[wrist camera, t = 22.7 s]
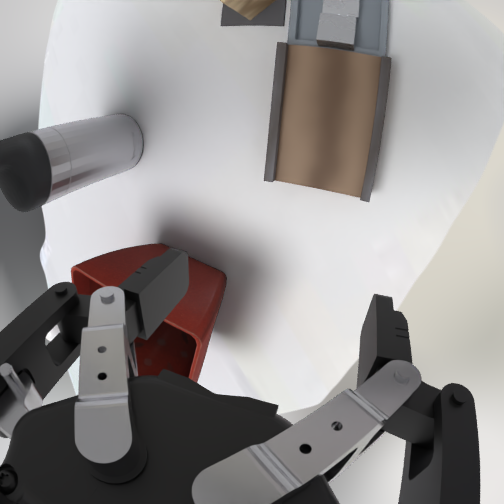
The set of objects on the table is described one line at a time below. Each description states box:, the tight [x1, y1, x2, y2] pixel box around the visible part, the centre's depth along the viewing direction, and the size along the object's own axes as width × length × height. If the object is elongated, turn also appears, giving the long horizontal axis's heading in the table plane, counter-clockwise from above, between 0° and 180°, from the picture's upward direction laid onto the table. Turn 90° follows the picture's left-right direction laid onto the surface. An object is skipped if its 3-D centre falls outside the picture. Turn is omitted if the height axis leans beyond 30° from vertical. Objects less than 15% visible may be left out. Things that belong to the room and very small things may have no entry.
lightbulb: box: [46, 325, 60, 341], centre depth 65 cm, size 6×6×11 cm
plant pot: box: [71, 244, 227, 383], centre depth 45 cm, size 19×19×17 cm
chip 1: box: [322, 0, 360, 21], centre depth 26 cm, size 4×4×2 cm
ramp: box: [264, 42, 391, 202], centre depth 32 cm, size 12×16×4 cm
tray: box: [287, 0, 389, 57], centre depth 27 cm, size 11×10×2 cm
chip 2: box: [316, 12, 356, 51], centre depth 27 cm, size 4×4×2 cm
